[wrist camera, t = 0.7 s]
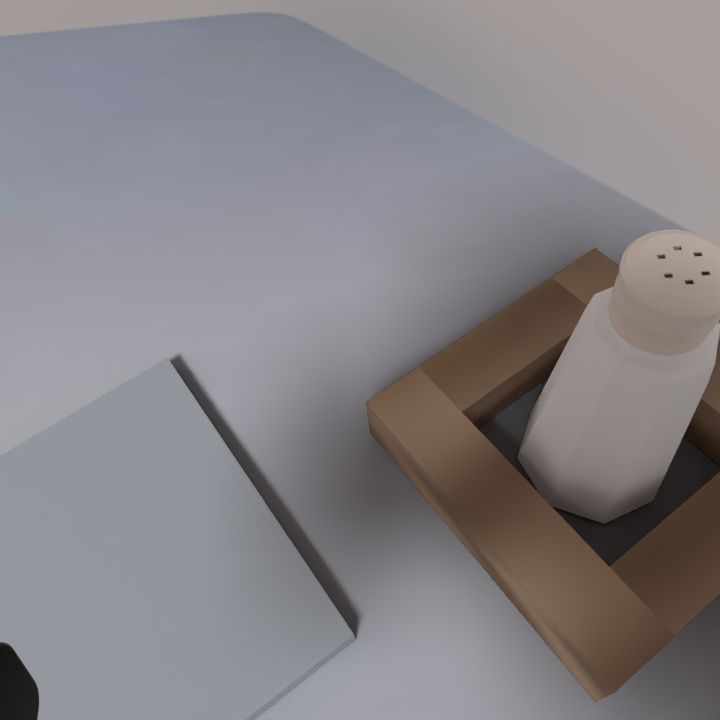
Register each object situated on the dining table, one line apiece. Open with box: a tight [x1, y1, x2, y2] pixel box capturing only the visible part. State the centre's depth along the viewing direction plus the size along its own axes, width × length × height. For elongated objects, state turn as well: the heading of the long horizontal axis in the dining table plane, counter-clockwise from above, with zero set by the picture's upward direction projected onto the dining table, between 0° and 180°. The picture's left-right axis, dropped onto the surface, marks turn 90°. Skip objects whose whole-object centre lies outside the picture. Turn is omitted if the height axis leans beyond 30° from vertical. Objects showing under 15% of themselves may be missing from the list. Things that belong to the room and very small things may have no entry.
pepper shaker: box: [517, 229, 720, 524], centre depth 20 cm, size 5×5×11 cm
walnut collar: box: [366, 248, 720, 702], centre depth 24 cm, size 12×12×2 cm
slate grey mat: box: [0, 358, 356, 720], centre depth 23 cm, size 14×14×1 cm
